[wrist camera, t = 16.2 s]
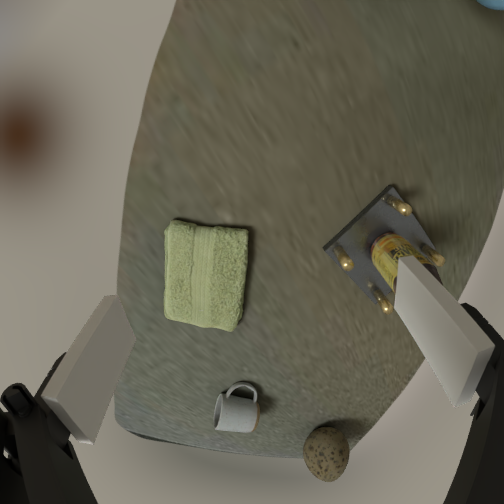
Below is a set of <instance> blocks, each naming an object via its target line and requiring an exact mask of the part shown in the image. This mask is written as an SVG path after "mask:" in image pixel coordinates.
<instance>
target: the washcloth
mask: <svg viewBox="0 0 504 504" xmlns="http://www.w3.org/2000/svg"><path fill="white" fill-rule="evenodd" d="M164 233H165V240H164V241H165V246H164V247H165V252H166V253H165V285H164V286H165V293H164V314H165V317H166V318H167V319H170V320H176V321H181V322H185V323H190V324H194V325H197V326H200V327H204V328H207V327H215V328H220V329H223V330H226V331H229V332H230V331H231V332H232V331H233V330H234V328H235V327H237V323H238V321H239V320H240V319H241V317H242V312H243V309H242V308H243V307H242V305H243V297H244V289H245V282H246V281H245V280H246V279H245V278H246V277H245V276H246V273H247V271H246V270H247V269H246V268H247V262H248V258H247V256H248V247H247V246H248V231H247V230H246V229H239V228H228V227H227V228H225V227H221V226H216V227H206V226H197V225H196V224H194V223H187V222H183V221H180V220H171V221H170V225H169V226H168V227H167V228H166V229H165V232H164Z"/></svg>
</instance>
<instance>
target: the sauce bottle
mask: <svg viewBox="0 0 504 504" xmlns="http://www.w3.org/2000/svg"><path fill="white" fill-rule="evenodd" d="M406 256H414V257H415V258H416V259H417V260H418V261H419V262H420V263H421V264H422V265H423V266H424V267H425V268H426V269H427V270H428V271H429V272H430V273H431V274H432V275H433V276H434V277H435V278H436V279H437V280H438V281H439V282H440V283H441V284H442V282H441V279H440V277H439V274H438V272H437V269H436V267H435V266H434V265H433V264H432V263H431V262H430V261H429V260H428V259H427V258H425V257H424V256H423V255H422V254H421V253H420V252H419V251H418V250H417V249H416V248H414V247H413V246H412V245H411V244H410V243H409V242H408V241H407V240H405V239H404V238H403V237H402V236H399V235H397V234H396V233H391V232H389V233H385V234H383V235H381V236H379V237H378V238H377V239H376V240H375V241H374V243H373V245H372V247H371V258H372V261H373V264H374V266H375V267H376V268H377V270H378V271H379V273H380V274H381V275H382V277H383V278H384V279H385V281H386V282H387V283H388V285H389V286H390V288H391V289H392V290H393V292H394V293H395V295H396V286H397V274H398V260H399V258H400V257H406ZM442 286H443V284H442Z"/></svg>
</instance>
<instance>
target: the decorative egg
mask: <svg viewBox="0 0 504 504" xmlns="http://www.w3.org/2000/svg"><path fill="white" fill-rule="evenodd" d="M303 456H304V460H305V463H306V465H307V467H308V468H309V470H310V471H311V473H312V474H313V475H314V476H316V477H317V478H318V479H320V480H322V481H325V482H332V481H334V480H336V479H338V478H339V477H340V476H341V475H342V473H343V472H344V470H345V468H346V466H347V464H348V460H349V444H348V441H347V439H346V437H345V436H344V434H343V433H342V432H340V431H339V430H337V429H335V428H332V427H322V428H318V429H316V430H315V431H313V432H312V433H311V434H310V435H309V436H308V437H307V439H306V441H305V443H304V447H303Z"/></svg>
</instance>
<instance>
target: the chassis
mask: <svg viewBox="0 0 504 504" xmlns="http://www.w3.org/2000/svg"><path fill="white" fill-rule="evenodd" d="M389 232H391V233H396V234H397V235H399V236H402V237H403V238H404V239H405V240H407V241H408V242H409V243H410V244H411V245H412V246H413V247H414V248H416V249H417V250H418V251H419V252H420V253H421V254H422V255H423V256H424V257H425V258H427V257H428V258H429V259H431V260H432V261H433V262H434V263H435V264H436V265H437V266H439V267H441V266H443V265H444V263H445V258H444V257H443V256H441V255H440V254H439V253H438V252H436V251H435V247H434V245H433V244H432V242H431V241H430V239H429V238H428V236H427V235H426V233H425V231H424V230H423V228H422V227H421V225H420V224H419V222H418V221H417V220H416V218H415V217H414V215H413V214H412V207H411V206H410V205H408V204H407V203H405V202H404V201H403V200H402V198H401V197H400V196H399V194H398V193H397V191H396V190H395V189H394V187H392V186H390V185H388V186H387V187H386V188H385V189H384V190H383V191H382V192H381V193H380V194H379V195H378V196H377V197H376V198H375V199H374V200H373V201H372V202H371V203H370V204H369V205H368V206H366V207H365V208H364V209H363V210H362V211H361V212H360V213H359V214H358V215H357V216H356V217H355V218H354V219H353V220H352V221H351V222H350V223H349V224H347V225H346V226H345V227H344V228H343V229H342V230H341V231H340V232H339V233H338V234H337V235H336V236H335V237H334V238H332V239H331V240H330V241H329V242H328V243H327V244H326V245H325V246H324V247H323V249H324V251H325V252H326V253H327V254H328V255H329V256H330V257H331V258H332V259H333V260H334V261H335V262H336V263H337V264H338V265H339V266H340V267H341V268H342V269H343V271H344V272H345V273H346V274H347V275H348V276H349V277H350V278H351V279H352V280H353V281H354V282H355V283H356V284H357V285H358V286H359V287H360V288H361V289H362V290H363V292H364V293H365V294H366V295H367V296H368V297H369V298H370V299H371V300H372V301H373V302H374V303H375V304H377V303H378V304H379V305H380V307H381V308H382V310H383V311H384V313H385V314H387V315H388V314H391V313H392V312H393V310H394V308H393V306H392V305H391V303H390V302H389V300H388V299H387V298H386V295H387V294H388V293H389V292H391V291H392V289H391V288H390V286H389V285H388V283H387V282H386V281H385V279H384V278H383V277H382V275H381V274H380V273H379V271H378V270H377V268H376V267H375V266H374V264H373V261H372V258H371V247H372V245H373V243H374V241H375V240H376V239H377V238H378V237H379V236H381V235H383V234H385V233H389Z"/></svg>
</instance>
